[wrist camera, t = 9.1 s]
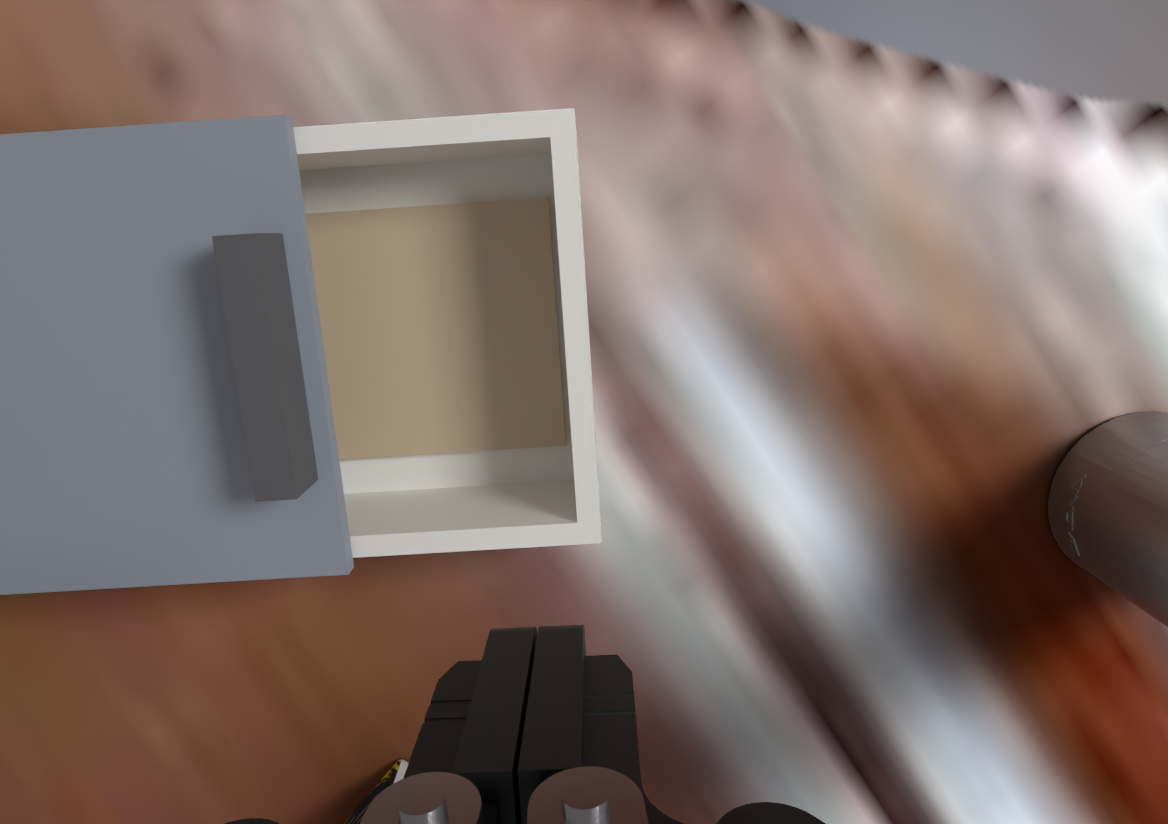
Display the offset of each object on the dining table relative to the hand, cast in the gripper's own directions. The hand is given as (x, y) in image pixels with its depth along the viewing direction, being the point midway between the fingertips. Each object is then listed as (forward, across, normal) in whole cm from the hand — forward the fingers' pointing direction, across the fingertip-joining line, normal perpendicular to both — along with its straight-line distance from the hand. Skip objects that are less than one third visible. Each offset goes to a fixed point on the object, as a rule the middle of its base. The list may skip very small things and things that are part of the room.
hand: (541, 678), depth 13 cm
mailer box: (+28, +9, -3) cm, 29 cm away
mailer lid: (+20, +20, -3) cm, 29 cm away
